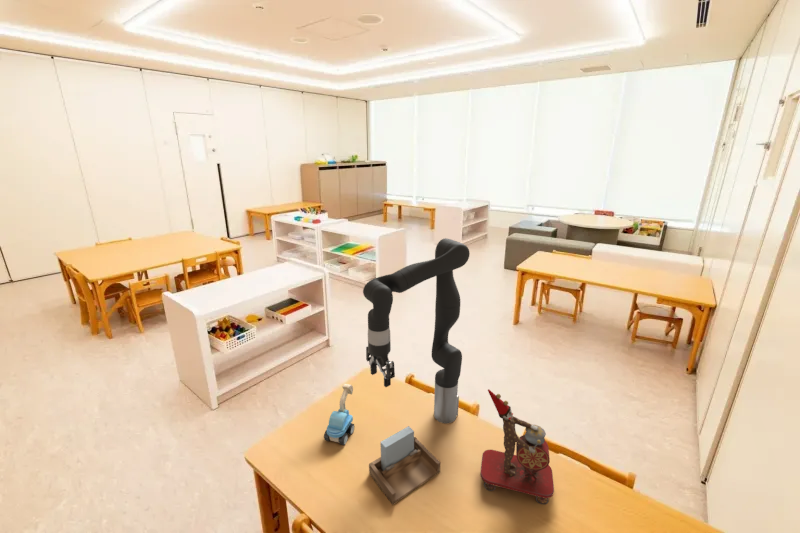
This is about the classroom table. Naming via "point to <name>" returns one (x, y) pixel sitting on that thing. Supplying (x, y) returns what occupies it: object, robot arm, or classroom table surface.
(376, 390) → the classroom table surface
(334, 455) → the classroom table surface
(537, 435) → the clown toy
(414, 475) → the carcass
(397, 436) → the blue-gray square slab
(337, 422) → the toy excavator
